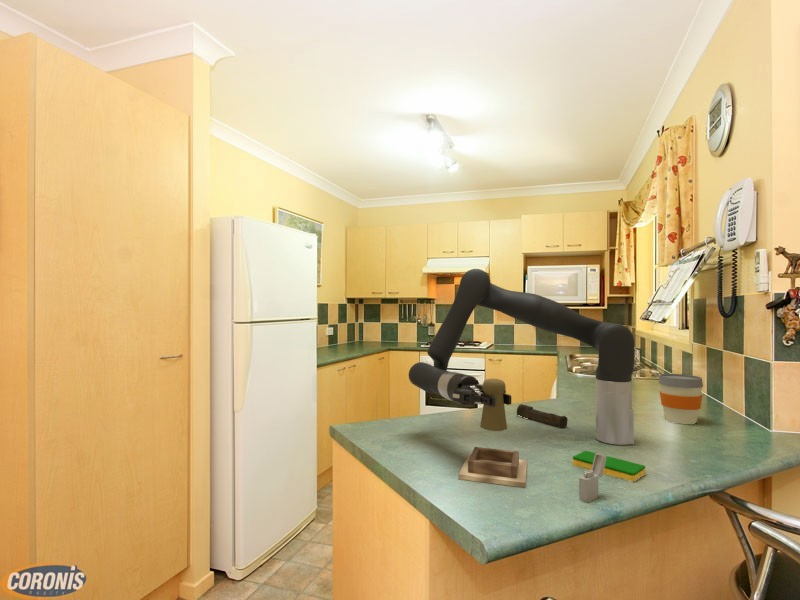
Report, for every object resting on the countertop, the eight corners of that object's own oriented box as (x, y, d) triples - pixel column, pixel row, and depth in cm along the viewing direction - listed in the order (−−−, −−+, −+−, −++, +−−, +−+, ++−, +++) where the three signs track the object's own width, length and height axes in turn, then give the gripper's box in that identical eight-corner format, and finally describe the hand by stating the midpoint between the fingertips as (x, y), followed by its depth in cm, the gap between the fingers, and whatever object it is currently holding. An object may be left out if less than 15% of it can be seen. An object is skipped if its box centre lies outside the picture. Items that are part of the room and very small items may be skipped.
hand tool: (568, 428, 136) (568, 413, 136) (560, 429, 134) (560, 414, 134) (522, 415, 152) (522, 402, 152) (514, 417, 150) (514, 403, 150)
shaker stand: (527, 464, 103) (527, 449, 103) (525, 487, 89) (525, 470, 89) (468, 458, 107) (468, 443, 107) (458, 479, 94) (458, 462, 94)
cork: (477, 429, 97) (478, 380, 97) (483, 422, 102) (483, 376, 103) (505, 432, 95) (505, 382, 95) (508, 425, 100) (509, 378, 100)
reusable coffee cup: (712, 426, 138) (712, 379, 138) (673, 426, 138) (673, 379, 138) (687, 416, 150) (686, 373, 150) (651, 416, 150) (650, 373, 151)
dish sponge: (633, 484, 92) (633, 473, 92) (571, 466, 103) (571, 456, 103) (646, 476, 97) (645, 465, 97) (585, 459, 107) (585, 450, 107)
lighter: (586, 502, 83) (586, 460, 83) (578, 499, 84) (578, 458, 84) (607, 493, 87) (606, 453, 87) (599, 490, 88) (598, 451, 88)
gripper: (435, 374, 108) (476, 386, 93) (480, 371, 115) (526, 382, 99) (434, 404, 108) (476, 421, 93) (480, 399, 114) (526, 414, 99)
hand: (502, 401), depth 96 cm, fingers closed on cork, 4 cm apart
